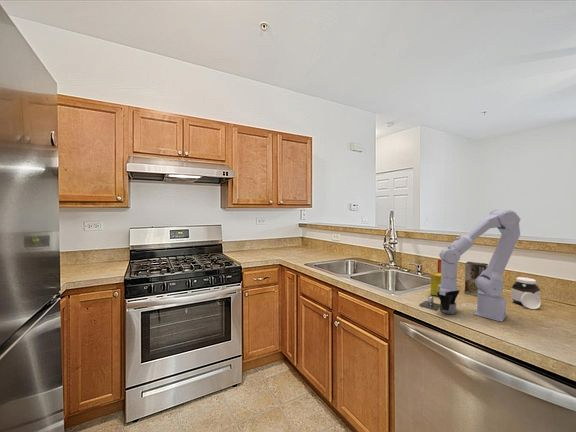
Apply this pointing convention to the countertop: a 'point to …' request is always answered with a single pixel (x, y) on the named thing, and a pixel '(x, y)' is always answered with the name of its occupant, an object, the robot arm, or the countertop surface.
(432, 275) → the supplement box
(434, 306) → the square base with peg
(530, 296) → the spread jar
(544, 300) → the countertop surface
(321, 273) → the countertop surface
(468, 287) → the coffee box
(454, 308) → the octagonal tube
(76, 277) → the countertop surface
